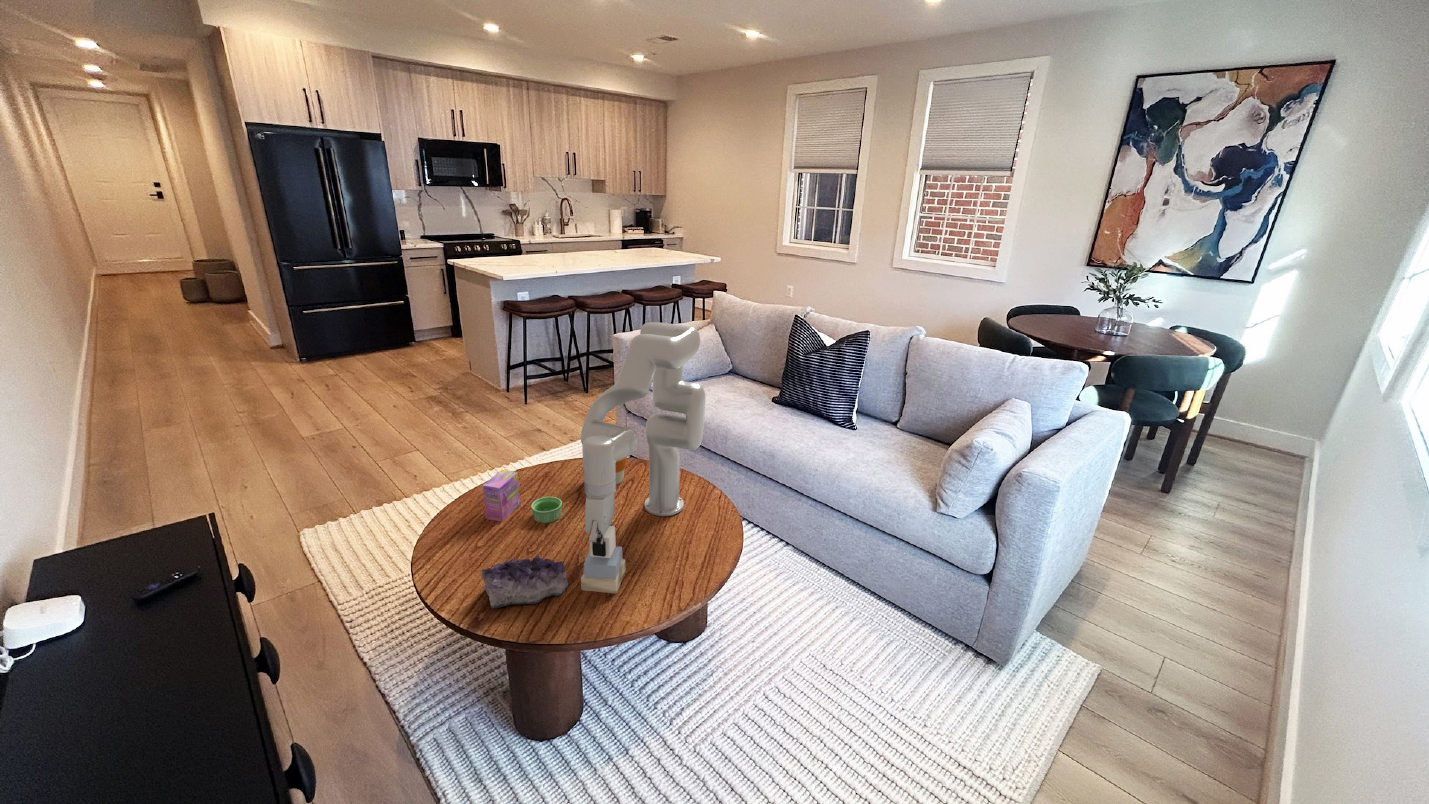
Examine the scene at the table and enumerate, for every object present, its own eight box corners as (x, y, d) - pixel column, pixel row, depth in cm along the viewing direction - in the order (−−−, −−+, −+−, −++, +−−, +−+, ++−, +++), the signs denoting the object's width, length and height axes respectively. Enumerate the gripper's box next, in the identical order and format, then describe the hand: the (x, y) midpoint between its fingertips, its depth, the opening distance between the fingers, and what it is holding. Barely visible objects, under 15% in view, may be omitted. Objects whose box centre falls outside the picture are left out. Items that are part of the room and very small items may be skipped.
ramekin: (561, 506, 175) (560, 494, 173) (563, 522, 167) (562, 509, 166) (531, 510, 172) (530, 498, 171) (532, 526, 164) (531, 513, 163)
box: (503, 522, 166) (499, 487, 162) (486, 519, 167) (481, 485, 163) (521, 504, 175) (518, 471, 171) (504, 502, 176) (501, 469, 172)
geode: (567, 570, 146) (566, 541, 142) (569, 604, 137) (568, 575, 132) (484, 580, 140) (481, 550, 136) (480, 616, 131) (477, 586, 126)
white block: (596, 544, 142) (595, 524, 140) (615, 546, 142) (615, 526, 140) (590, 556, 138) (589, 535, 136) (609, 558, 137) (609, 537, 135)
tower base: (592, 568, 148) (592, 556, 146) (625, 571, 147) (625, 559, 145) (581, 591, 139) (580, 578, 138) (616, 594, 139) (616, 581, 137)
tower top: (592, 557, 146) (591, 545, 144) (622, 559, 145) (622, 546, 144) (584, 577, 138) (583, 564, 137) (616, 579, 138) (615, 566, 137)
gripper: (596, 467, 141) (599, 528, 148) (572, 502, 125) (576, 568, 132) (625, 470, 141) (626, 531, 147) (604, 505, 125) (607, 571, 131)
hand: (602, 547), depth 139 cm, fingers closed on white block, 5 cm apart
